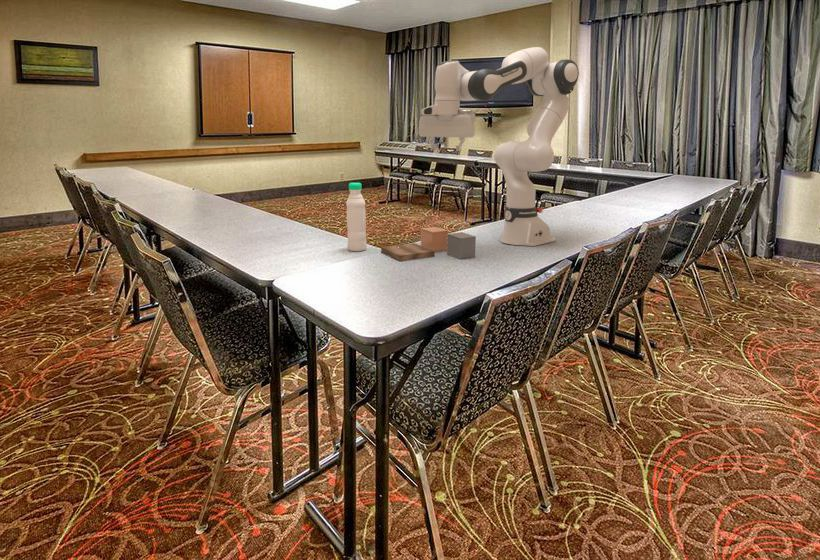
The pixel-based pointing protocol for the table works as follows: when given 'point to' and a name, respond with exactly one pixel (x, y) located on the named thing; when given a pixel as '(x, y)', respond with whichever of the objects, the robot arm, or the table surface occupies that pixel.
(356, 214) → the water bottle
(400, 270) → the table surface
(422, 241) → the terracotta cover
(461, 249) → the charcoal cover
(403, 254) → the walnut board
